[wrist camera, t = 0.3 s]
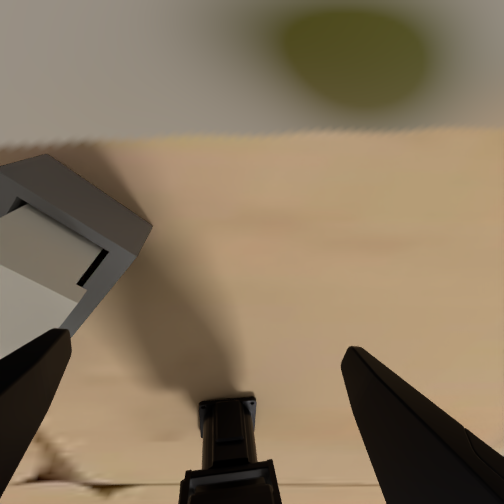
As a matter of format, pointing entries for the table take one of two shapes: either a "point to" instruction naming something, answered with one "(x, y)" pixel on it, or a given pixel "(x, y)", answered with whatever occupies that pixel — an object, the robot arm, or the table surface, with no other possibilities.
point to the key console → (77, 221)
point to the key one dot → (38, 274)
